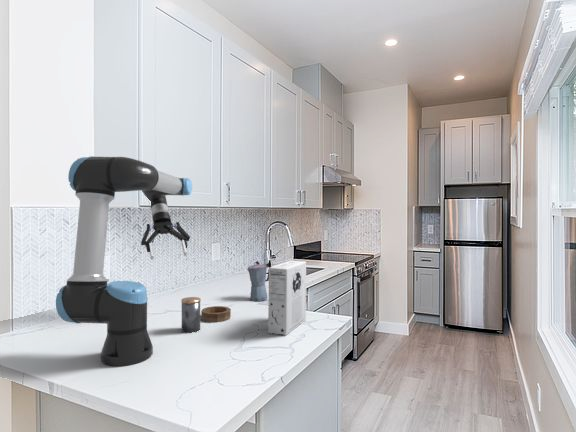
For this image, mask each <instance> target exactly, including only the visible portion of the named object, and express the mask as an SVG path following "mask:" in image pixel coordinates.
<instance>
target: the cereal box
mask: <svg viewBox="0 0 576 432" xmlns="http://www.w3.org/2000/svg"><path fill="white" fill-rule="evenodd" d="M268 270H269V281H268V314H267V315H268V320H267V322H268V329H267V330H268V332H269V333H268V334H272V333H275V334H274V335H278V334H283V335H282V336H285V335H286V336H288V335H289V334H290V333H291V332H293V331H294V330H295V329H296V328H297V327H299V326H300V325H301V324H302V323H304V322H305V321H306V320H307V319H306V318H307V317H306V316H307V309H306V308H307V261H304V260H303V261H302V260H287V261H285V262H282V263H279V264H276V265H273V266H271V267H270V268H269V267H268ZM298 325H299V326H298ZM293 329H294V330H293ZM292 330H293V331H292ZM288 333H289V334H288ZM287 334H288V335H287Z"/></svg>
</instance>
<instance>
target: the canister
mask: <svg viewBox="0 0 576 432" xmlns="http://www.w3.org/2000/svg"><path fill="white" fill-rule="evenodd" d="M201 301H202V300H201V297H197V296H188V297H183V298H181V301H180V302H181V332H182V333H184V332H185V334H193V333H192V332H195V333H198V332H199V330H200V331H201ZM197 331H198V332H197Z"/></svg>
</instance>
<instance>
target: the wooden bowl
mask: <svg viewBox="0 0 576 432" xmlns="http://www.w3.org/2000/svg"><path fill="white" fill-rule="evenodd" d="M231 309H232V308H230V307H228V306H222V305H217V306H216V305H214V306H207V307H204V308H202V309H201V310H200V320H202V321H203V322H207V323H222V322H226V321H229V320H230V319H231V318H232V317H231V316H232V315H231V313H232V312H231Z"/></svg>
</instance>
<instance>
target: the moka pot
mask: <svg viewBox="0 0 576 432" xmlns="http://www.w3.org/2000/svg"><path fill="white" fill-rule="evenodd" d="M270 267H272V266H271V265H270V264H269V263H268V262H267V263H266V264H265V263H264V264H259V261H258V260H256V261H255V264H254V265H250V266H248V267H247V269H246V270H247V271H248V273H249V279H250V282H251V284H250V285H251V287H250V301H253V302H263V301H266V300H268V299H269V296H268V293H267V285H266V282H269V268H270ZM267 268H268V269H267Z"/></svg>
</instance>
